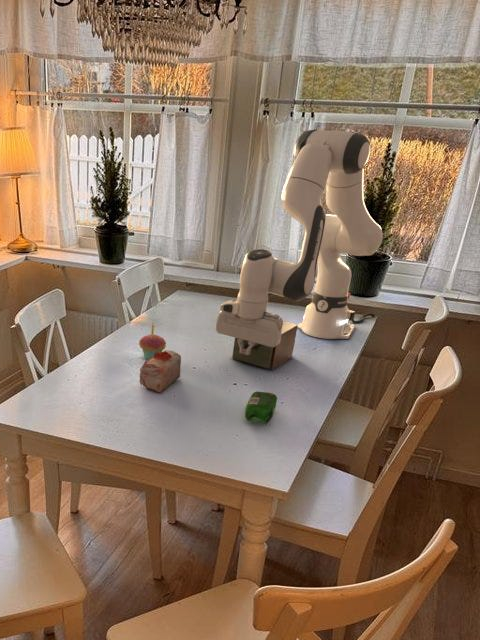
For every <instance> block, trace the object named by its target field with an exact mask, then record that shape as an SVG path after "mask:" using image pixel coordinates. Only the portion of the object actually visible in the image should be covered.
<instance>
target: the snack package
mask: <svg viewBox="0 0 480 640" xmlns="http://www.w3.org/2000/svg"><path fill="white" fill-rule="evenodd" d="M277 401H278V396H277V394H276V393H273V392H267V391H258V390H257V391H254V392H253V393H252V394H251V395H250V397H249V399H248V401H247V403H246V404H245V405H246V406H245V412H244V417H245V420H246V421H247V422H249V423H250V422H252V423H261V424H268V423H270V421H271V420H272V419H273V416H274V412H275V409H276V406H277Z"/></svg>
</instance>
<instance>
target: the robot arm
mask: <svg viewBox="0 0 480 640" xmlns="http://www.w3.org/2000/svg"><path fill="white" fill-rule="evenodd" d="M371 146H372V145H371V141H370V139H369V137H367V135H365V134H362V133H359V132H350V131H344V130H338V129H334V130H331V129H330V130H327V129H326V130H325V129H322V130H321V129H319V130H318V129H309V130H306V131H305V130H304V131H303V132H302V133H301V134H300V135H299V136H298V137H297V139H296V141H295V143H294V148H293V158H294V159H293V160H294V161H293V162H292V165H291V167H290V170H289V172H288V175H287V176H286V179H285V182H284V185H283V187H282V191H281V199H280V200H281V204H282V207H283V209H284V211H285V212H286V213H287V214H288V215H289V216H290V217H291V218H293V219H294V220H295V221H297V222H298V223H300V224H301V225H302V227H303V229H304V237H303V241H302V247H301V251H300V256H299V260H298V261H297V262H292V261H291V262H290V261H287V260H283V259H279V258H276V257H274V255H273V252H271V251H270V250H268V249H264V248H263V249H262V248H258V249H252V250H249V251H248V252H247V253H246V254H245V256H244V259H243V262H242V265H241V271H240V275H239V291H238V294H237V297H236V298H235V299H233V298H232V299H230V300H227V301H225V302H223V303H221V304H220V307H219V308H220V311H219V312H218V315H217V317H216V322H215V331H216V332H217V334H220V335H224V336H228V337H231V338H234V339H235V338H238V340H237V342H238V345H239V347H240V351H239V353H242V354H246V355H249V354H250V353H251V348H252V347H253V346H254V345H255V344H256V343H258V344H261V345H265V346H269V347H275V346H277V345H278V344H279V343H280V341H281V329H282V326H283V321H284V320H283V318H282V317H281V316H280V315H279V314H277V313H275V314H274V313H271V312H267V310H268V305H269V304H268V303H269V293H270V294H272V295H275V296H279V297H283V298H285V299H288V300H290V301H293V302H299V301H301V300H304V299H306V298H307V297H308V296H310V295H311V293H312V295H311V302H310V303H309V304H308V305H306V308H305V311H304V315H303V318H302V322H300V323H298V324H297V325H298V327H297V328H299V329H300V330H301V331H302V332H303V333H304V334H305V335H308V336H310V337H314V338H319V339H324V340H325V339H326V340H336V339H340V340H341V339H343V340H348V339H349V338H350V336H351V335H352V333H353V332H354V330H355V324H360V323H362V322H365V318H366V317H368V316H371V317H372V318H375V314H374V313H372V312H368V313H365V314H362V315H361V316H360V319H359V320H355V315H356V311H353V310H351V309H349V307H348V303H349V300H350V298H351V292H349V289H350V284H351V281H352V276H353V275H352V270H351V268H350V267H349V266H348V265H347V264H346V263H345V262H344V261H343V259H342V255H341V254H345V255H350V256H355V257H365V256H367V257H368V256H372V255H374V254H375V253H376V252H377V251H379V248H380V247H381V246H382V243H383V238H384V234H383V230H382V227H381V225H379V224H378V223H377V222H376V221H375V220H374V219H373V217H372V216H371V215H370V213H369V211H368V209H367V207H366V204H365V201H364V169H365V167H366V166H367V164H368V162H369V158H370V156H371V148H372V147H371ZM324 191H325V205H326V207H327V209H328V210H329V211H330V212H331V213H332V214H326V210H325V208H323V205H322V198H323V195H324V194H323V193H324ZM316 272H317V276H316ZM315 282H316V283H315ZM314 287H315V288H314ZM244 340H246V341H249V342H248V344H249V345H250V346H249V347H245V346H244V343H243V341H244Z"/></svg>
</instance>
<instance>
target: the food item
mask: <svg viewBox="0 0 480 640" xmlns="http://www.w3.org/2000/svg"><path fill="white" fill-rule="evenodd" d="M149 359H150V358H149ZM149 359H145V361H144V363H143V364H142V366H141V368H140V369H139V371H140V373H139V384H140V385H141V386H142V387H144V388H146V389H147V390H150V391H153V392H157V393H162V392H163V391H164V390H165V389H167V388H168V387H169V386H170V385H171V384H173V383H174V382H176V381H177V380H178V379H180V377H181V371H182V369H181V368H182V367H181V365H182V355H180V354H179V353H178V352H176V351H173V350H169V349H168V350H167V349H164V350H163V351H162V352H159V353H158V352H157V351H156V350H155V351H154V358H152V359H151V360H149Z"/></svg>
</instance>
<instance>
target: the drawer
mask: <svg viewBox="0 0 480 640" xmlns="http://www.w3.org/2000/svg"><path fill="white" fill-rule="evenodd" d="M237 340H238V338H235V337H234V341H233V347H232V348H233V350H232V355H231V358H232V359H233V358H234V359H233V360H235V359H238V360H241V361H240V362H242V361H245V362H248V363H247V364H249V363H252V364H255V365H254V366H256V365H259V366H262V367H261V368H263V367H266V368H269V367H270V364H271V358H272V352H273V347H269V346H265V345H261V344H258V343H256V344H255V345H254V346H253V347H252V348H251V353H250V354H249V355H246V354H242V353H239V351H240V347H239V345H238V342H237ZM248 342H249V341H246V340H244V341H243V343H244V346H245V347H249V346H250V345H249V344H248ZM238 360H237V361H238ZM245 362H244V363H245ZM252 364H251V365H252ZM259 366H258V367H259ZM266 368H265V369H266Z"/></svg>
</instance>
